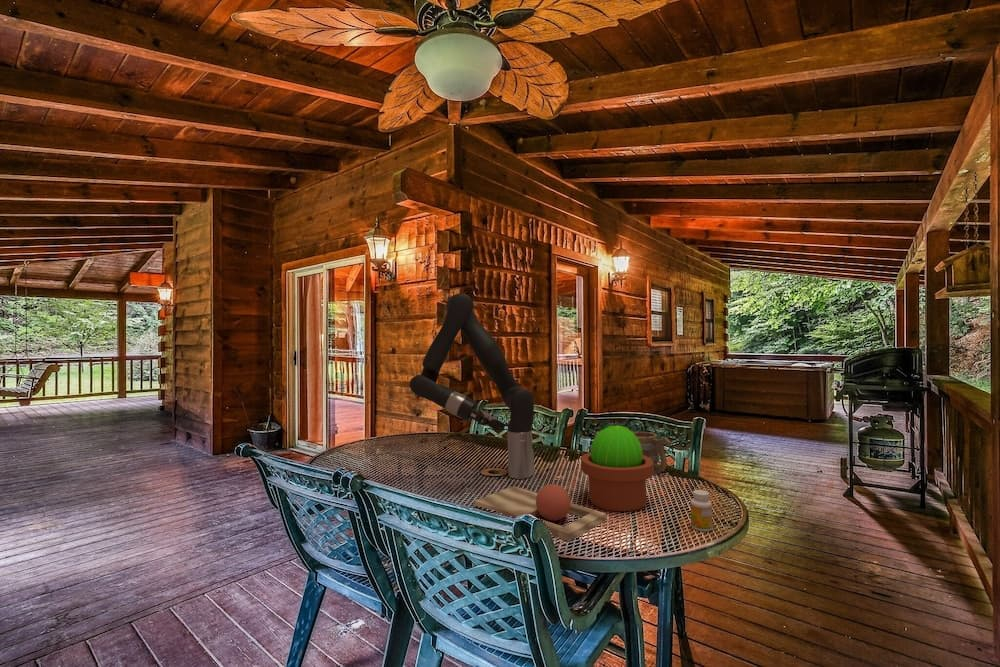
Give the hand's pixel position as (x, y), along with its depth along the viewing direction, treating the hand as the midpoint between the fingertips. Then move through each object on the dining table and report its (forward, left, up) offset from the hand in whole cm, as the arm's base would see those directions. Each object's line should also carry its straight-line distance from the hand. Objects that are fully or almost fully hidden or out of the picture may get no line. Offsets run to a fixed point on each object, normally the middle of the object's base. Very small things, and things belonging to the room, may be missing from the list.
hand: (502, 427), depth 158 cm
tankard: (-53, +27, -22) cm, 63 cm away
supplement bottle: (-16, +60, -22) cm, 66 cm away
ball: (+7, +27, -17) cm, 32 cm away
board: (+6, +20, -22) cm, 31 cm away
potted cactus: (-18, +33, -22) cm, 44 cm away
